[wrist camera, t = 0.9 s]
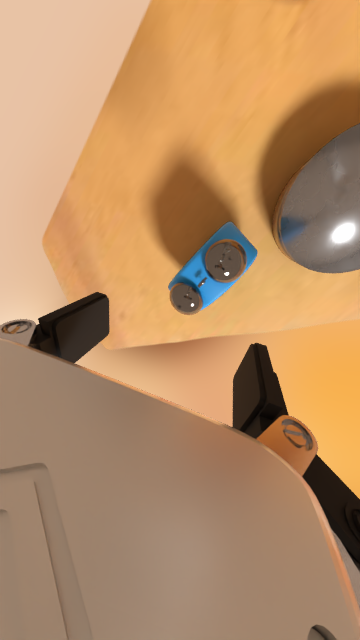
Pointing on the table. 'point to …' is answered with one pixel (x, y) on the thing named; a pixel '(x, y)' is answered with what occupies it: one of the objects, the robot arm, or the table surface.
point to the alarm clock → (212, 270)
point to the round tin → (323, 208)
